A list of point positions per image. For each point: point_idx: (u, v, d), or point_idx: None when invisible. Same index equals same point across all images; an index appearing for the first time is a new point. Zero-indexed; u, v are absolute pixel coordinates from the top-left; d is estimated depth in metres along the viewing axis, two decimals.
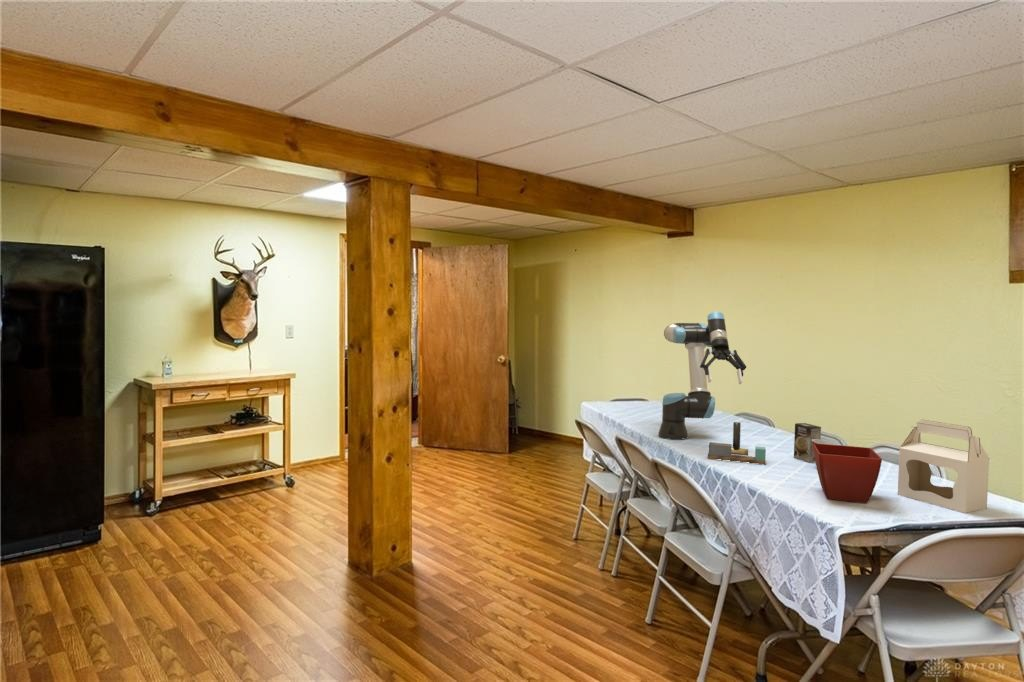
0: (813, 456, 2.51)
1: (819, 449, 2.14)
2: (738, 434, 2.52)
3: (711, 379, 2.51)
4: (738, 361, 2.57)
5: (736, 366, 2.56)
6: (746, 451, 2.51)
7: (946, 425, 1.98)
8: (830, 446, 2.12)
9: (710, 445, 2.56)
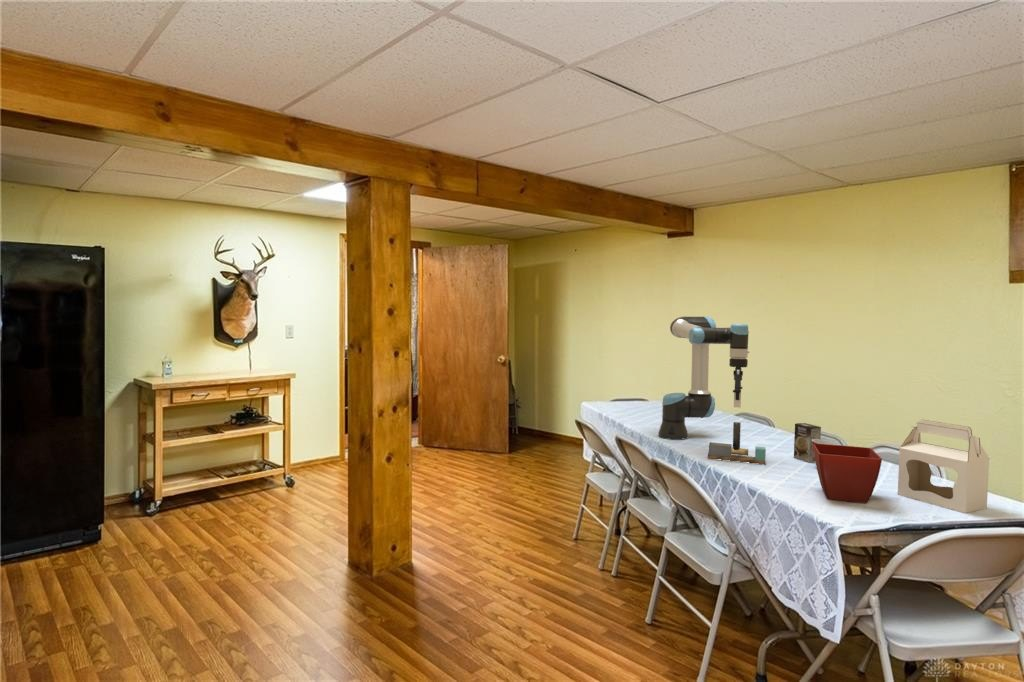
0: (813, 456, 2.51)
1: (819, 449, 2.14)
2: (738, 434, 2.52)
3: None
4: None
5: None
6: (746, 451, 2.51)
7: (946, 425, 1.98)
8: (830, 446, 2.12)
9: (710, 445, 2.56)
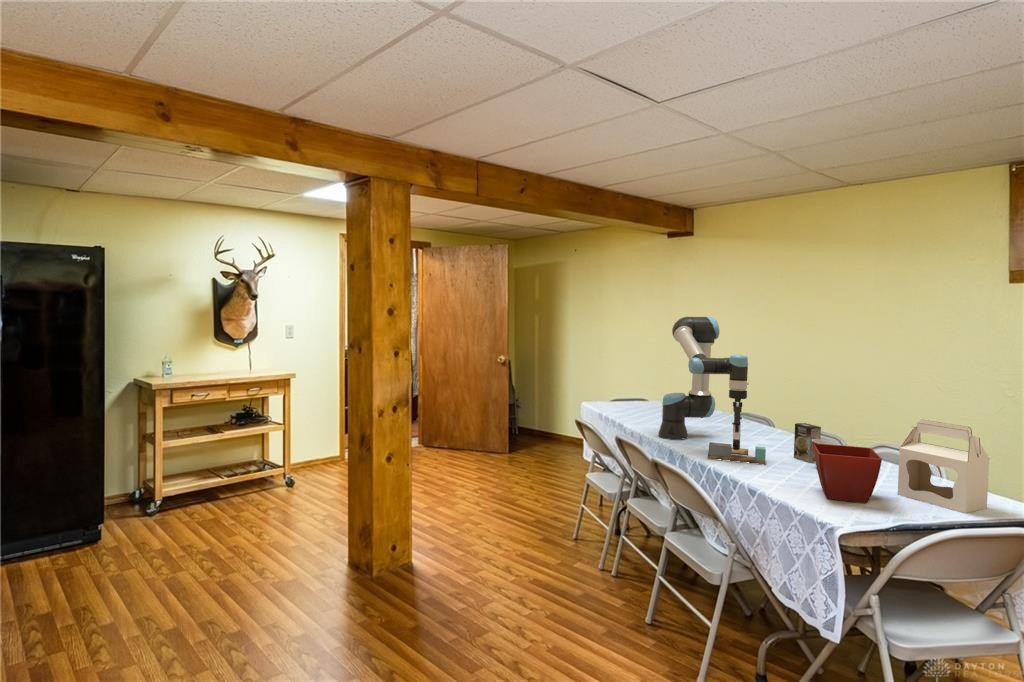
0: (813, 456, 2.51)
1: (819, 449, 2.14)
2: None
3: (739, 439, 2.47)
4: None
5: None
6: (746, 451, 2.51)
7: (946, 425, 1.98)
8: (830, 446, 2.12)
9: (710, 445, 2.56)
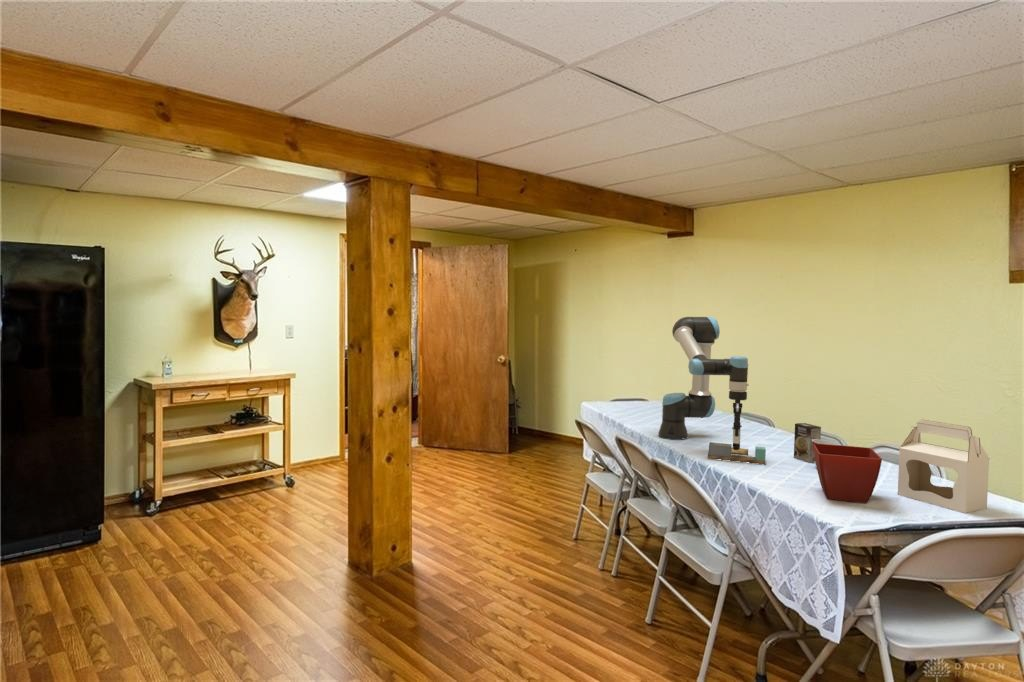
0: (813, 456, 2.51)
1: (819, 449, 2.14)
2: None
3: (739, 443, 2.52)
4: None
5: None
6: (746, 451, 2.51)
7: (946, 425, 1.98)
8: (830, 446, 2.12)
9: (710, 445, 2.56)
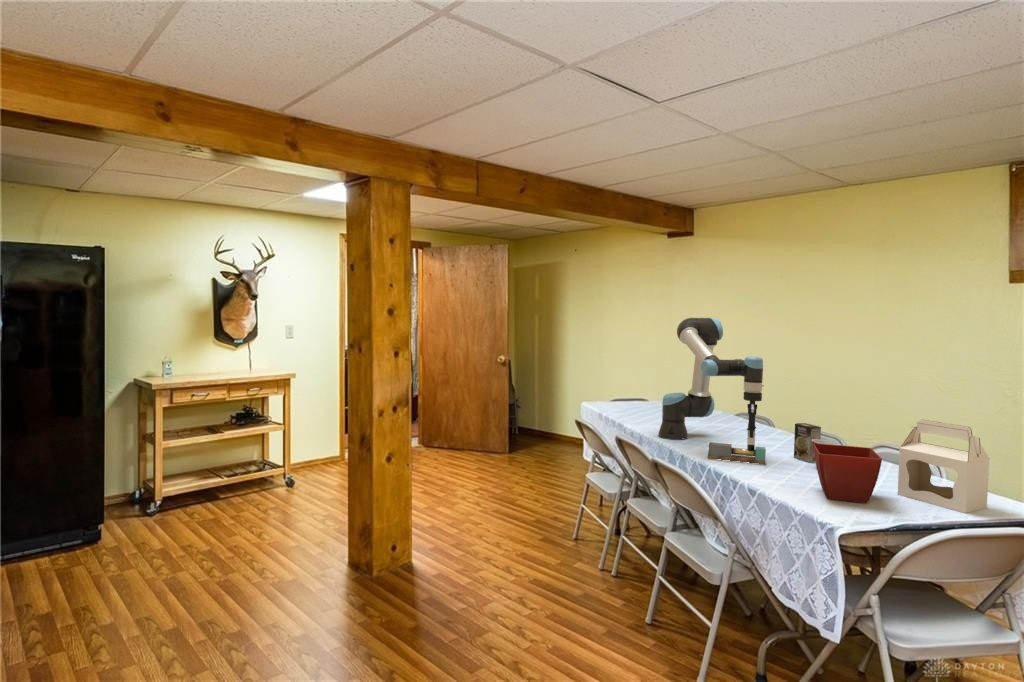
0: (813, 456, 2.51)
1: (819, 449, 2.14)
2: None
3: None
4: None
5: None
6: None
7: (946, 425, 1.98)
8: (830, 446, 2.12)
9: (710, 445, 2.56)
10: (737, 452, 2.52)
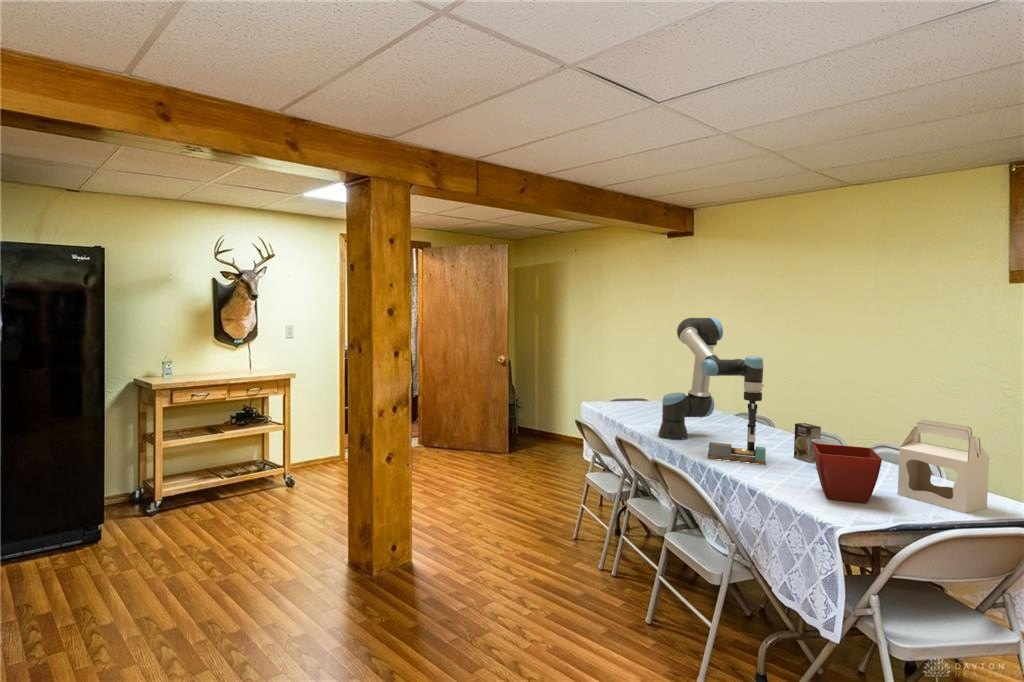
0: (813, 456, 2.51)
1: (819, 449, 2.14)
2: None
3: None
4: None
5: None
6: None
7: (946, 425, 1.98)
8: (830, 446, 2.12)
9: (710, 445, 2.56)
10: (737, 452, 2.52)
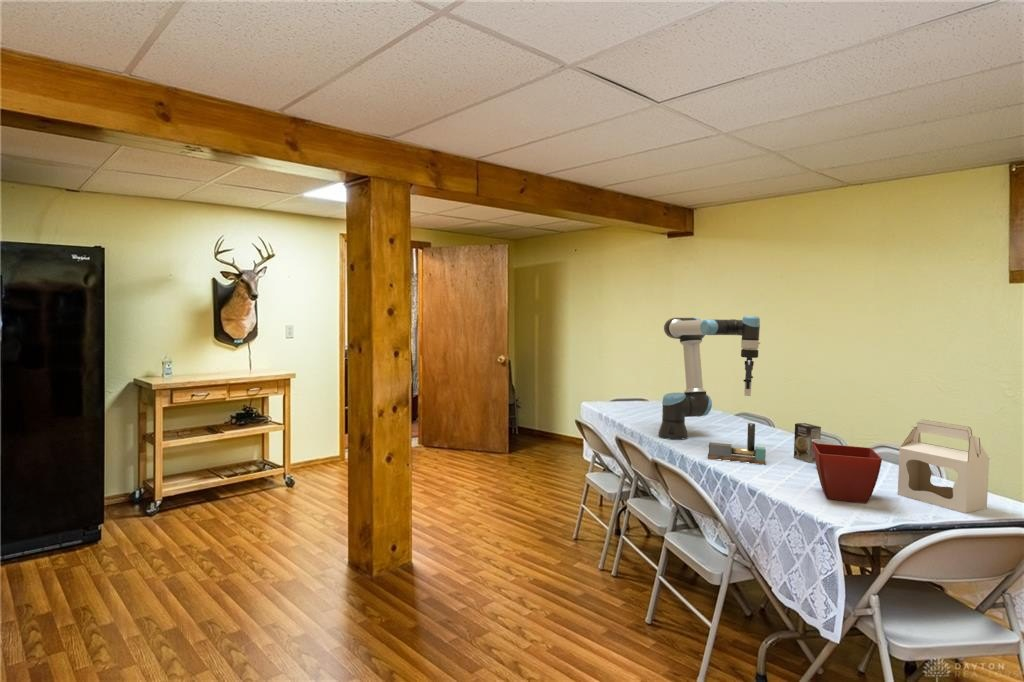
0: (813, 456, 2.51)
1: (819, 449, 2.14)
2: (753, 435, 2.50)
3: (750, 395, 2.59)
4: None
5: None
6: None
7: (946, 425, 1.98)
8: (830, 446, 2.12)
9: (710, 445, 2.56)
10: (737, 452, 2.52)
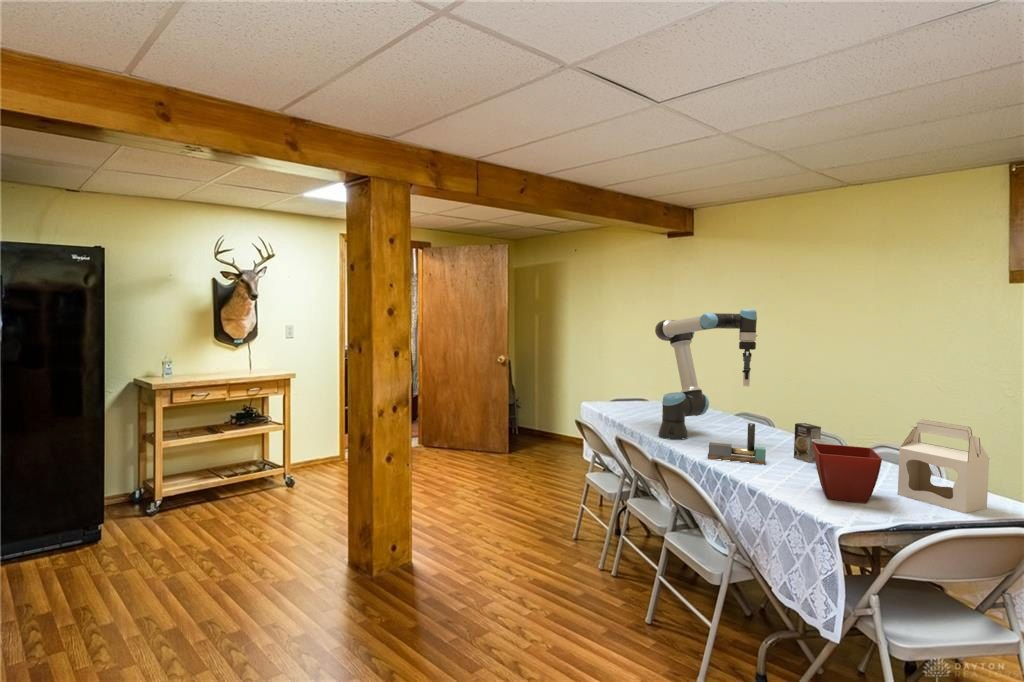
0: (813, 456, 2.51)
1: (819, 449, 2.14)
2: (753, 435, 2.50)
3: None
4: None
5: None
6: None
7: (946, 425, 1.98)
8: (830, 446, 2.12)
9: (710, 445, 2.56)
10: (737, 452, 2.52)
